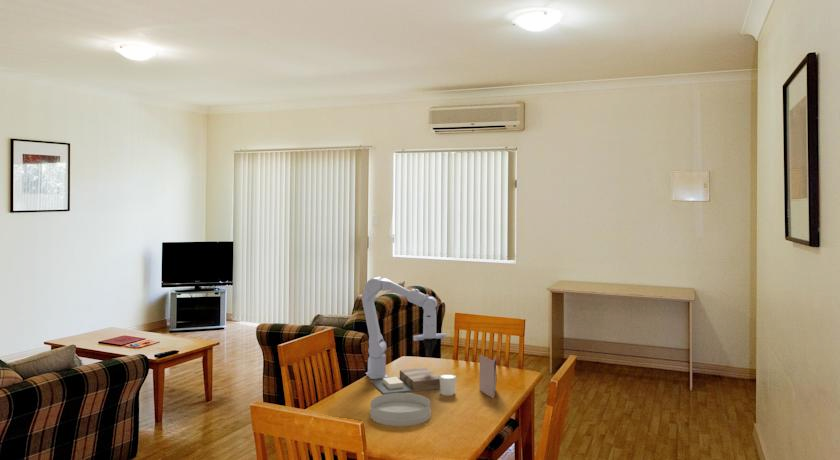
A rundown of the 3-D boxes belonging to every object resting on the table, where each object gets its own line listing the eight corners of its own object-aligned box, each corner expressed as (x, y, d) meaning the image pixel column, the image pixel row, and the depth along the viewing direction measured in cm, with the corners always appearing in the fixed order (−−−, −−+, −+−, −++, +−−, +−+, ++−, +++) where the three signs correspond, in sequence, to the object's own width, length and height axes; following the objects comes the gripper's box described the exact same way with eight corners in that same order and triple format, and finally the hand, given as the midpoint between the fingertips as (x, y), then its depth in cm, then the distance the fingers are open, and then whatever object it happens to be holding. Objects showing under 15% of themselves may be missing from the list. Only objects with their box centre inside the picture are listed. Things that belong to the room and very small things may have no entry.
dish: (397, 401, 237) (397, 388, 237) (443, 414, 223) (443, 400, 223) (357, 417, 220) (357, 403, 220) (403, 431, 206) (403, 417, 206)
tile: (396, 376, 260) (396, 381, 260) (382, 378, 258) (382, 382, 258) (403, 382, 252) (403, 387, 252) (389, 384, 250) (389, 389, 250)
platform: (399, 379, 266) (399, 369, 266) (425, 376, 270) (425, 367, 270) (413, 391, 249) (413, 381, 249) (441, 388, 253) (441, 378, 253)
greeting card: (495, 398, 240) (496, 361, 239) (476, 397, 242) (477, 360, 241) (497, 389, 251) (498, 354, 251) (479, 388, 253) (480, 353, 252)
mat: (371, 382, 261) (371, 380, 261) (398, 379, 266) (398, 377, 266) (383, 394, 244) (383, 393, 244) (412, 391, 249) (412, 389, 249)
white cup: (456, 390, 250) (456, 374, 249) (455, 396, 243) (455, 378, 243) (439, 390, 250) (439, 373, 250) (438, 395, 244) (438, 378, 243)
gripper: (417, 327, 258) (417, 359, 259) (448, 325, 263) (448, 356, 264) (411, 324, 265) (411, 355, 265) (442, 322, 270) (442, 352, 270)
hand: (429, 355), depth 265 cm, fingers closed
